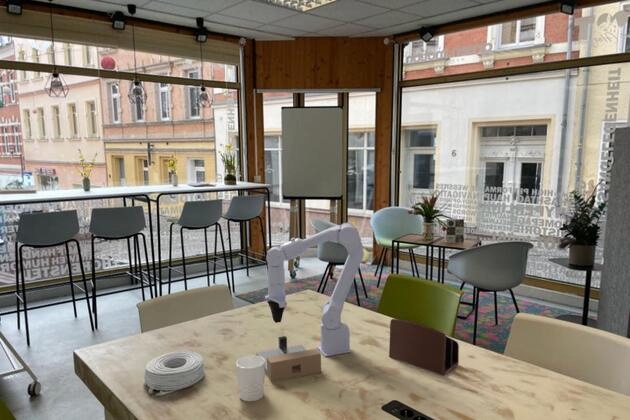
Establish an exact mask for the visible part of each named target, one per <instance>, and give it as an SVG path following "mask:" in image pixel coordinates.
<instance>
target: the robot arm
mask: <svg viewBox="0 0 630 420" xmlns="http://www.w3.org/2000/svg"><path fill="white" fill-rule="evenodd" d="M361 239H362V238H361V236H360V233H359V231H358V230H357V228H356V226H355V225H354V224H353V223H351V222H344V223H341V224H337V225H334V226H331V227H329V228H327V229H323V230H322V231H320V232H318V233H316V234H313V235H311V236H309V237H307V238H304V239H301V238H299V237H296V238H295V237H292V238H291V239H290V240H289V241H288V242H287V241H286V242H285V243H282V244H281V243H278V244H277V246H273V247H272V246H271V248H269V250H268V252H267V254H266V257H265V259H266V262H267V293H268V294H267V295H265V296H264V299H265V300H267V301H266V303H267V304H268V306H269V309H270V311H271V315H272V319H273V322H274V324H277V323H282V319H283V315H284V312H285V311H284V310H285V308H286V307H287V305H288V304H287V301H286V297H287V296H286V295H287V294H286V280H285V279H286V275H285V273H286V272H285V263H284V261H291V260H293V259H295V258H297V257H301V256H302V255H304V254H305V253H306V252H307V249H309V248H312V247H316V246H318V245H321V244H324V243H327V242H332V243H336V244H338V240H339V242H340V244H341V245H343V247H344V248H345V249H346V251H347V253H348V254H347V257H346V260H345V262H344V265H343V267H342V270H341V272H340V275H339V277H338V279H337V281H336V284H335V286H334V289H333V292H332V293H331V296H329V298H328V301H327V302H326V303H325V304H324V305H323V306H322V308H321V314H322V315H321V322H320V345H317V346H316V349H317V350H318V351H319V352H320V353H321V355H323V356H324V357H331V356H335V355H341V354H342V355H343V354H346V353H347V354H348V353H351V349H350V348H351V345H350V341H351V340H350V338H351V335H350V329H349V326H348V324H347V323H346V322H343V323H342V322H341V321H342V318H341V315H342V312H343V309H344V304H345V301H346V300H347V296H348V295H349V292H350V289H351V288H352V285H353V282H354V280H355V277H356V275H357V273H358V270H359V268H360V265H361V264H362V261H363V258H364V256H365V252H364V248H363V245H362V240H361Z"/></svg>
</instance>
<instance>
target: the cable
mask: <svg viewBox="0 0 630 420" xmlns="http://www.w3.org/2000/svg"><path fill="white" fill-rule="evenodd" d="M204 364H205V363H204V359H203V356H202V355H201V354H198V353H197V352H194V351H191V350H190V351H189V350H176V351H172V352H167V353H164V354H161V355H159V356H157V357H154V358H152V359H151V360H150V361H149V362H148V363H147V364H146V366H145V369H144V374H143V379H144V382H145V384H146V385H147V386H148V387H149V389H148V393H149V394H150V395H151V394H153V393H154V390H156V391H159V392H157V393H156V394H155V397H161V396H164V395H168V394H171V393H173V392H176V391H180V390H182V389H185V388H188V387H191V386H192V385H195V384H196V383H198V382H199V381H200V380H201V379H203V377H204V375H205V365H204Z"/></svg>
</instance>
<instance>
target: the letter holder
mask: <svg viewBox="0 0 630 420" xmlns="http://www.w3.org/2000/svg"><path fill="white" fill-rule="evenodd" d="M389 322H390V323H389V324H390V325H389V347H388V348H389V353H388V357H389V358H391V359H394V360H398V361H401V362H403V363H406V364H409V365H412V366H414V367H417V368H419V369H423V370H425V371H428V372H432V373H434V374H436V375H439V376H441V377H445V376H446V375H447V374H449V373H450V372H451V371H452V370H454V369H455V368H456V367H457V366H458V365H459V358H460V357H459V356H460V355H459V349H460V345H459V342H458V341H456V340H455V339H453V338H450V337H449V336H447V335H446V334H445V333H444V332H442V331H440V330H438V329H435V328H433V327H430V326H428V325H424V324H421V323H418V322H415V321H410V320H405V319H397V318H392V319H391V320H390V321H389Z"/></svg>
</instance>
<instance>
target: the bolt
mask: <svg viewBox="0 0 630 420" xmlns="http://www.w3.org/2000/svg"><path fill="white" fill-rule="evenodd" d="M277 341H278V349H279V353H280V354H281V355H282V354H288V353H290V352H289V351H288V349H287V347H288V338H287V336H286V335H285V336H278V340H277Z"/></svg>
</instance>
